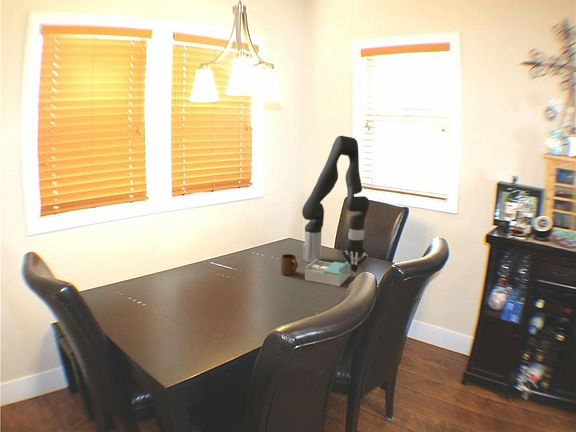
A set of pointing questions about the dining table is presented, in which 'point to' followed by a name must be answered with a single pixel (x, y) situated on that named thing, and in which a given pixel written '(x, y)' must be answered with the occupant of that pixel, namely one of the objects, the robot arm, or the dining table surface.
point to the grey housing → (324, 274)
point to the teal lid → (337, 268)
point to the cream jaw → (322, 268)
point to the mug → (288, 264)
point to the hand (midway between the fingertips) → (354, 271)
